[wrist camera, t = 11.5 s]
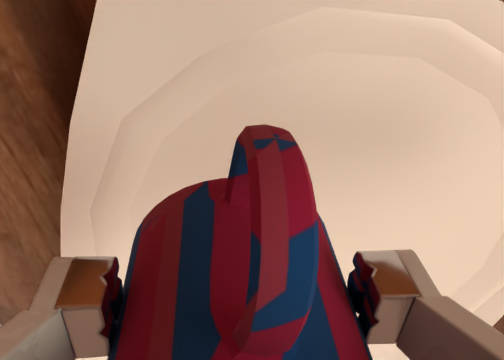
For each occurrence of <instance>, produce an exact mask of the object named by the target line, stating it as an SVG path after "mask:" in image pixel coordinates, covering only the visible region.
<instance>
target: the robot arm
mask: <svg viewBox="0 0 504 360" xmlns="http://www.w3.org/2000/svg"><path fill="white" fill-rule="evenodd" d="M352 262H353V265H354V267H355V269H354V270H353V271H351V272H350V273H349V276H348V281H347V289H348V291H349V294H350V297H351V300H352V303H353V305H354V308H355V311H356V312H357V313H358V314H359V315H358V319H359V322H360V325H361V328H362V331H363V333H364V336H365V339H366V342H367V344H396V346H397V347H398V348H399V349H400V350H401V351H402V352H403V353H404V354H405V355H406V356H407V357H408V358H409V359H410V360H504V334H502V333H501V332H499V331H498V330H496V329H495V328H493V327H492V326H490V325H489V324H487V323H486V322H484V321H483V320H482V319H480V318H479V317H477V316H476V315H474V314H473V313H471V312H470V311H468V310H467V309H465V308H464V307H462V306H461V305H459V304H458V303H457V302H455V301H454V300H452V299H451V298H449V297H448V296H441V294H440V292H439V291H438V289H437V287H436V286H435V284H434V282H433V281H432V279H431V278H430V276H429V274H428V273H427V271H426V269H425V268H424V266H423V264H422V263H421V261H420V259H419V258H418V256H417V254H416V253H415V252H414V251H413V250H412V249H407V250H377V251H357V252H356V253H355V255H354V258H353V261H352ZM118 272H119V262H118V258H117V257H96V256H75V257H54V258H53V259H52V260H51V261H50V262H49V264H48V266H47V268H46V270H45V273H44V275H43V277H42V280H41V282H40V284H39V286H38V289H37V291H36V293H35V295H34V298H33V300H32V302H31V304H30V307H29V309H28V310H24V311H20V312H19V313H18V314H16V315H15V316H14V317H13V318H11V319H10V320H9V321H7V322H6V323H5V324H4V325H2V326H1V327H0V360H75V359H78V358H92V357H105V356H110V353H111V350H112V345H113V341H114V336H115V332H116V323H115V321H116V320H117V319H118V315H119V313H120V308H121V304H122V299H123V285H122V279H120V278H119V277H118Z"/></svg>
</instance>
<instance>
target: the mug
mask: <svg viewBox="0 0 504 360" xmlns="http://www.w3.org/2000/svg"><path fill="white" fill-rule="evenodd" d="M115 323H116V332H115V336H114V341H113V345H112V350H111V353H110V356H108V358H107V360H373V359H372V356H371V353H370V350H369V347H368V345H367V342H366V339H365V336H364V333H363V331H362V328H361V325H360V322H359V319H358V317H357V314H356V311H355V308H354V305H353V303H352V300H351V297H350V294H349V291H348V289H347V286H346V283H345V280H344V277H343V275H342V272H341V269H340V266H339V263H338V261H337V258H336V255H335V252H334V249H333V247H332V244H331V241H330V238H329V236H328V233H327V230H326V227H325V224H324V222H323V221H322V219H321V217H320V216H319V214H318V212H317V209H316V202H315V196H314V191H313V185H312V181H311V177H310V173H309V170H308V166H307V163H306V161H305V158H304V156H303V154H302V151H301V149H300V148H299V146H298V144H297V142H296V141H295V139H294V138H293V136H292V135H291V133H290V132H289V131H287V130H285V129H283V128H279V127H275V126H270V125H266V124H263V125H252V126H246V127H245V128H244V129H243V131H242V132H241V133H240V134H239V136H238V137H237V139H236V143H235V147H234V151H233V155H232V160H231V165H230V170H229V175H228V178H220V179H214V180H208V181H203V182H200V183H197V184H194V185H191V186H188V187H185V188H183V189H181V190H179V191H177V192H175V193H173V194H171V195H169V196H168V197H166V198H165V199H164V200H162V201H161V202H160V203H158V204H157V205H156V206H155V207H154V208H153V209H152V210H151V211H150V212H149V213H148V214H147V215H146V216H145V218H144V219H143V221H142V222H141V224H140V226H139V228H138V229H137V231H136V235H135V238H134V241H133V244H132V249H131V254H130V258H129V263H128V267H127V272H126V276H125V281H124V285H123V299H122V304H121V308H120V313H119V315H118V319H117V320H116V322H115Z"/></svg>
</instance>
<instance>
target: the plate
mask: <svg viewBox="0 0 504 360" xmlns="http://www.w3.org/2000/svg"><path fill="white" fill-rule="evenodd" d="M263 124H266V125H270V126H275V127H279V128H283V129H285V130H287V131H289V132H290V133H291V135H292V136H293V138H294V139H295V141H296V142H297V144H298V146H299V148H300V149H301V151H302V154H303V156H304V158H305V161H306V163H307V166H308V170H309V173H310V177H311V181H312V185H313V191H314V196H315V202H316V209H317V212H318V214H319V216H320V217H321V219H322V221H323V222H324V224H325V227H326V230H327V233H328V236H329V238H330V241H331V244H332V247H333V249H334V252H335V255H336V258H337V261H338V263H339V266H340V269H341V272H342V275H343V277H344V280H345V283H346V286H347V281H348V276H349V273H350V272H351V271H353V270H354V269H355V267H354V265H353V262H352V261H353V258H354V255H355V253H356V252H357V251H377V250H407V249H412V250H413V251H414V252H415V253H416V254H417V256H418V258H419V259H420V261H421V263H422V264H423V266H424V268H425V269H426V271H427V273H428V274H429V276H430V278H431V279H432V281H433V282H434V284H435V286H436V287H437V289H438V291H439V292H440V294H441V296H448V297H449V298H451V299H452V300H454V301H455V302H457V303H458V304H459V305H461V306H462V307H464V308H465V309H467V310H468V311H470V312H471V313H473V314H474V315H476V316H477V317H479V318H480V319H482V320H483V321H484V322H486V323H487V324H489V325H490V326H493V325H494V324H495V323H496V322H497V321H498V320H499V319H500V318H501V317H502V316H503V315H504V2H503V1H501V0H97V2H96V6H95V11H94V15H93V20H92V25H91V29H90V34H89V38H88V43H87V48H86V52H85V57H84V61H83V66H82V71H81V75H80V80H79V84H78V89H77V94H76V98H75V103H74V107H73V112H72V117H71V121H70V128H69V138H68V147H67V156H66V165H65V175H64V184H63V193H62V203H61V257H75V256H96V257H117V258H118V262H119V272H118V277H119V278H120V279H122V285H124V281H125V276H126V272H127V267H128V263H129V258H130V254H131V249H132V244H133V241H134V238H135V235H136V231H137V229H138V228H139V226H140V224H141V222H142V221H143V219H144V218H145V216H146V215H147V214H148V213H149V212H150V211H151V210H152V209H153V208H154V207H155V206H156V205H157V204H158V203H160V202H161V201H162V200H164V199H165V198H166V197H168V196H169V195H171V194H173V193H175V192H177V191H179V190H181V189H183V188H185V187H188V186H191V185H194V184H197V183H200V182H203V181H208V180H214V179H220V178H228V175H229V170H230V165H231V160H232V155H233V151H234V147H235V143H236V139H237V137H238V136H239V134H240V133H241V132H242V131H243V129H244V128H245V127H246V126H252V125H263ZM356 314H357V317H358V315H359V314H358V313H357V312H356ZM115 322H116V321H115ZM367 345H368V347H369V350H370V353H371V356H372V359H373V360H410V359H409V358H408V357H407V356H406V355H405V354H404V353H403V352H402V351H401V350H400V349H399V348H398V347H397V346H396V344H367ZM107 358H108V356H105V357H92V358H78V359H75V360H107Z"/></svg>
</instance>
